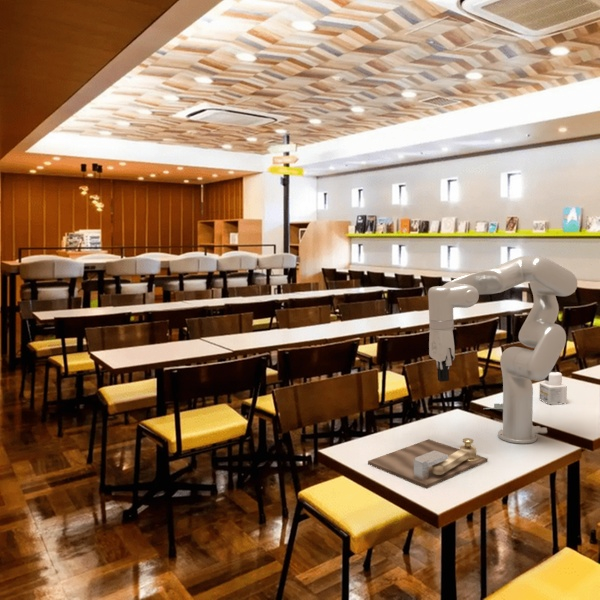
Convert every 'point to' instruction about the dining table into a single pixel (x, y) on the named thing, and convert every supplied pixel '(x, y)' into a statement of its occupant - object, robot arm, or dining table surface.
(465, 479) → the dining table surface
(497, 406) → the metal bracket
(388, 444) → the dining table surface
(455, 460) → the arm link
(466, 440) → the brass pin
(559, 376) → the container
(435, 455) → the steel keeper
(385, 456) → the walnut board
